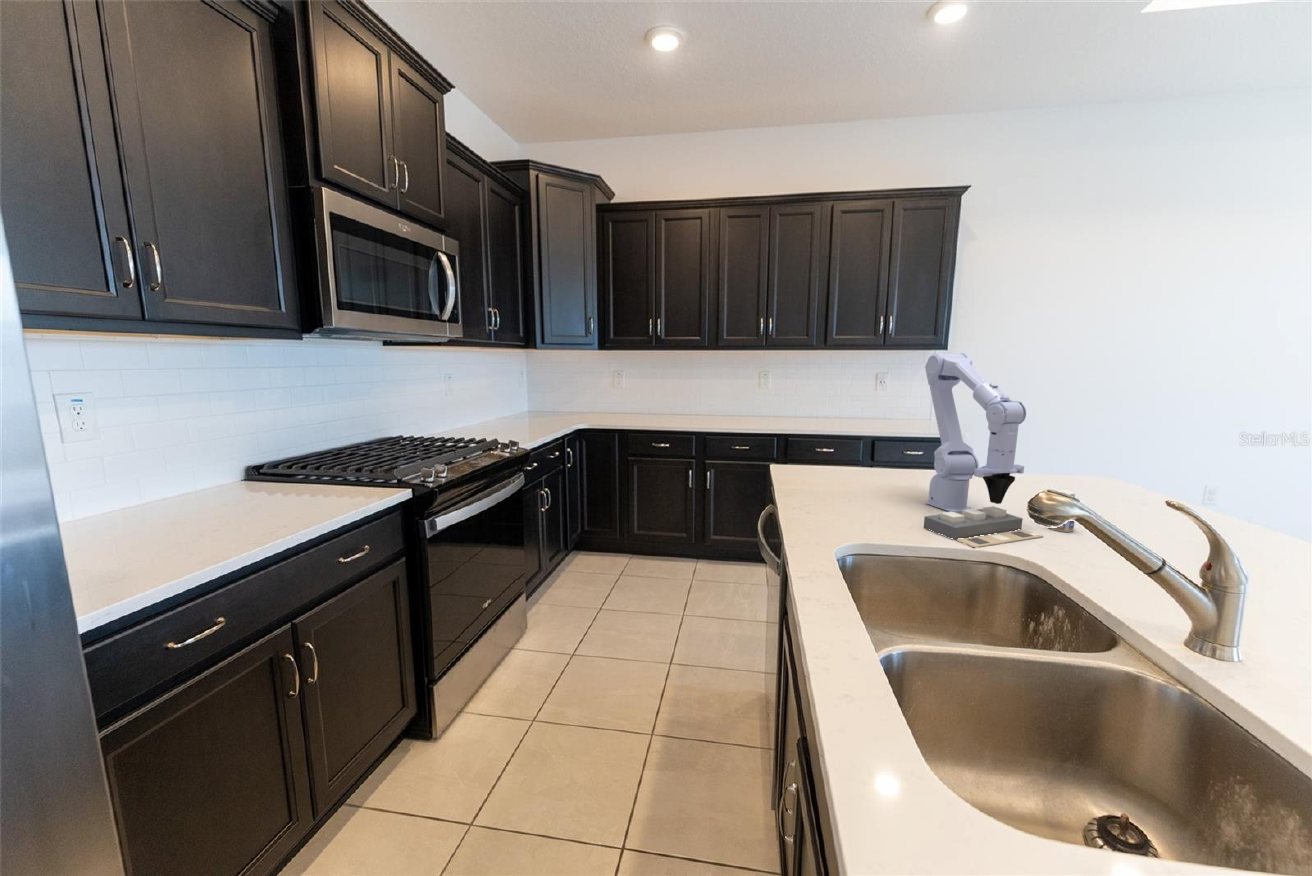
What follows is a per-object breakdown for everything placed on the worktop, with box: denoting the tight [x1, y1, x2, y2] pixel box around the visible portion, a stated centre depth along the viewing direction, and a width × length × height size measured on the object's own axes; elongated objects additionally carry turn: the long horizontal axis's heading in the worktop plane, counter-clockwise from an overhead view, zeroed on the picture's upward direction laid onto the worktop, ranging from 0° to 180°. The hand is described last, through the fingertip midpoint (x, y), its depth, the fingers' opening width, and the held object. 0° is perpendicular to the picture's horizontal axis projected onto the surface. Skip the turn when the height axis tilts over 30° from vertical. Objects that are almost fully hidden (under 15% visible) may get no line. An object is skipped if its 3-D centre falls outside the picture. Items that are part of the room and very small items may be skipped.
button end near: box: [940, 511, 965, 524], centre depth 128 cm, size 4×4×3 cm
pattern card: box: [956, 529, 1044, 548], centre depth 124 cm, size 5×22×1 cm, turn 109°
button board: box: [923, 508, 1024, 540], centre depth 131 cm, size 9×22×3 cm, turn 109°
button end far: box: [982, 506, 1007, 518], centre depth 133 cm, size 4×4×3 cm
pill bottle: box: [1050, 489, 1076, 533], centre depth 131 cm, size 5×5×10 cm
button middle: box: [962, 508, 986, 521], centre depth 131 cm, size 4×4×3 cm
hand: (995, 502), depth 132 cm, fingers closed
